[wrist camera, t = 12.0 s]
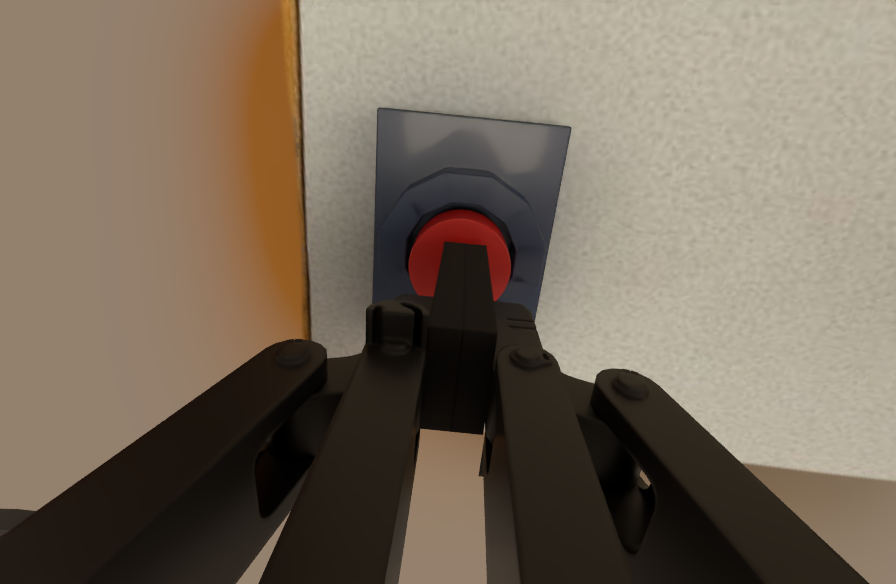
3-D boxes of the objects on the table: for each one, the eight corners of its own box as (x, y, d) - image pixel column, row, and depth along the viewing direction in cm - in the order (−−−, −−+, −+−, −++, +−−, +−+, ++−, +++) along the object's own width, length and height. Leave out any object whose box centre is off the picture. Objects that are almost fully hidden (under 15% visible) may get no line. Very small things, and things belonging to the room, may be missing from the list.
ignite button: (500, 302, 19) (503, 320, 17) (410, 293, 19) (405, 310, 17) (513, 214, 18) (518, 224, 16) (416, 204, 18) (411, 213, 16)
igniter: (522, 337, 24) (532, 378, 20) (379, 322, 24) (363, 361, 20) (561, 125, 19) (583, 128, 16) (386, 108, 20) (367, 106, 16)
